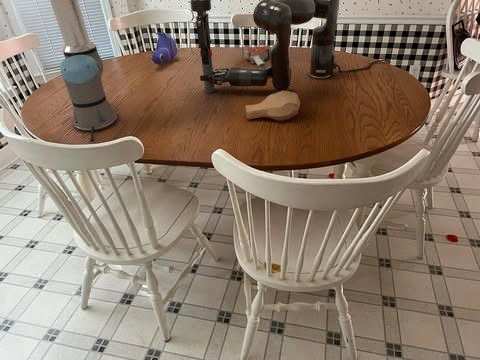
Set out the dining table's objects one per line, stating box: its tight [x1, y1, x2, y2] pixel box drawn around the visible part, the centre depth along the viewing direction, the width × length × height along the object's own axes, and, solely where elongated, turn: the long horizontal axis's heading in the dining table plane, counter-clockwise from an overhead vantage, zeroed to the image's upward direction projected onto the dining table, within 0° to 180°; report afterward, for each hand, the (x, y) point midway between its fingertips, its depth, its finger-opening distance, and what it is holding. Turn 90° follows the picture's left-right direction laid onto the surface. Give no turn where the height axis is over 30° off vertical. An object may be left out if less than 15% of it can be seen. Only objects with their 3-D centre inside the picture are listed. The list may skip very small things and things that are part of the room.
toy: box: [150, 31, 178, 69], centre depth 181 cm, size 10×17×25 cm
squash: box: [244, 90, 301, 122], centre depth 127 cm, size 11×20×9 cm, turn 92°
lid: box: [199, 48, 213, 57], centre depth 143 cm, size 5×5×2 cm
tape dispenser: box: [243, 45, 270, 68], centre depth 179 cm, size 18×5×20 cm
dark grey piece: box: [200, 55, 216, 94], centre depth 148 cm, size 4×4×16 cm
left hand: (206, 61), depth 145 cm, fingers closed on lid, 5 cm apart
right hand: (202, 76), depth 149 cm, fingers closed on dark grey piece, 4 cm apart
